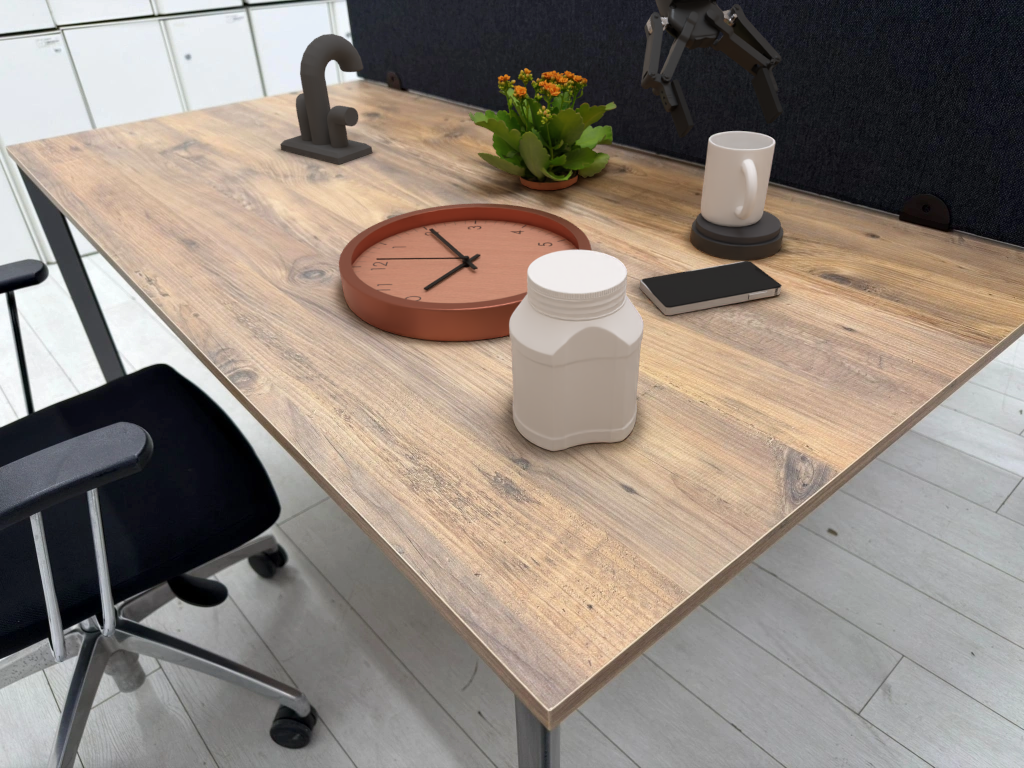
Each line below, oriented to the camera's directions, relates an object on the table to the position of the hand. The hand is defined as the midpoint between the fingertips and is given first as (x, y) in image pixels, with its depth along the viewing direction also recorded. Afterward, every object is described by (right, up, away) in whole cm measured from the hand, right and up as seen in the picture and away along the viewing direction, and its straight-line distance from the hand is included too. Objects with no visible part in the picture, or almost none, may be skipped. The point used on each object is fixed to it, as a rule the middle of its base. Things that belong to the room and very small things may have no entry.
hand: (731, 124), depth 94 cm
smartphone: (-5, -23, -6) cm, 24 cm away
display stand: (+2, -14, +5) cm, 15 cm away
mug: (+1, -12, +3) cm, 13 cm away
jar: (-23, -37, -26) cm, 50 cm away
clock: (-34, -20, -1) cm, 40 cm away
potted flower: (-23, 0, +27) cm, 36 cm away
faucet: (-62, +13, +48) cm, 80 cm away
